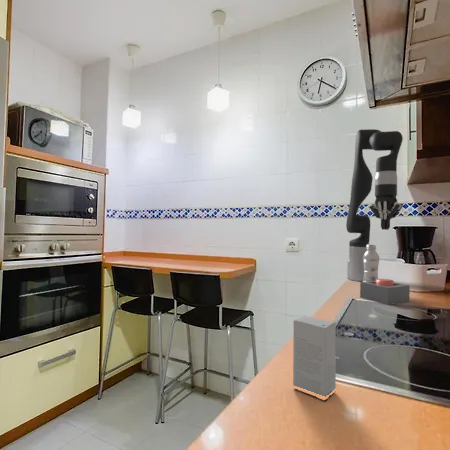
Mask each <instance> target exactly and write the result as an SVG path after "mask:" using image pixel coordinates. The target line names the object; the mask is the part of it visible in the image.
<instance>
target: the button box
mask: <svg viewBox="0 0 450 450" xmlns="http://www.w3.org/2000/svg"><path fill="white" fill-rule="evenodd" d="M359 282H360V286H359V288H360V289H359V292H360V293H359V294H360V295H359V297H360V298H362V299H365V300H368V301H372V302H376V303H380V304H382V305H383V304H385V305H386V306H387V305H388V306H389V305H395V304H401V303H407V302H410V293H411V292H410V290H411V285H410V284H404V283H400V282H394V281H393V286H382V285H378V284H376V281H366V282H363V281H359Z"/></svg>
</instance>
